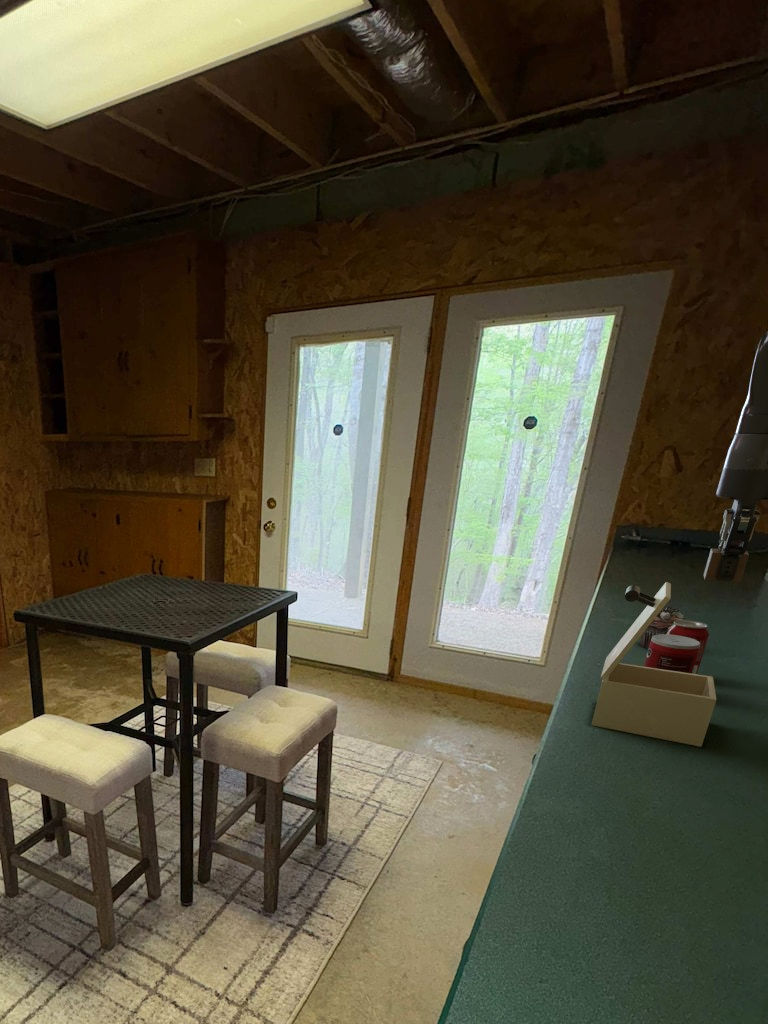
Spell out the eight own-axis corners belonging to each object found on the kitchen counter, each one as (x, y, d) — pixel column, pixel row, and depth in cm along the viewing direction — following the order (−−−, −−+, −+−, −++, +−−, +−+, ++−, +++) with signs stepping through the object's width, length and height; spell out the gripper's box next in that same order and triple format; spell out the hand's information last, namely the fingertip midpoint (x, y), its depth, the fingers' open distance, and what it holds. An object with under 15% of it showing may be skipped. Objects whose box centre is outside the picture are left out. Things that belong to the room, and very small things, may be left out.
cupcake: (663, 656, 146) (675, 615, 143) (626, 644, 155) (636, 605, 152) (695, 652, 148) (707, 611, 145) (657, 640, 157) (667, 601, 154)
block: (703, 575, 104) (711, 548, 102) (738, 577, 101) (746, 550, 100) (704, 579, 101) (712, 552, 99) (740, 582, 98) (749, 554, 96)
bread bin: (698, 721, 114) (712, 676, 110) (701, 747, 104) (716, 699, 101) (597, 703, 123) (607, 661, 119) (591, 726, 113) (602, 681, 110)
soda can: (700, 684, 130) (717, 629, 126) (661, 681, 132) (676, 626, 128) (688, 673, 136) (704, 620, 131) (651, 670, 138) (665, 618, 134)
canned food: (660, 682, 131) (674, 632, 127) (695, 696, 124) (712, 644, 120) (628, 685, 130) (641, 635, 126) (662, 700, 123) (677, 647, 119)
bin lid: (671, 583, 110) (638, 570, 112) (670, 598, 101) (635, 583, 103) (610, 660, 119) (581, 646, 121) (605, 680, 110) (574, 664, 112)
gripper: (797, 467, 87) (757, 588, 93) (783, 463, 98) (749, 571, 104) (727, 467, 91) (694, 583, 98) (721, 463, 102) (692, 567, 108)
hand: (722, 576), depth 101 cm, fingers closed on block, 4 cm apart
